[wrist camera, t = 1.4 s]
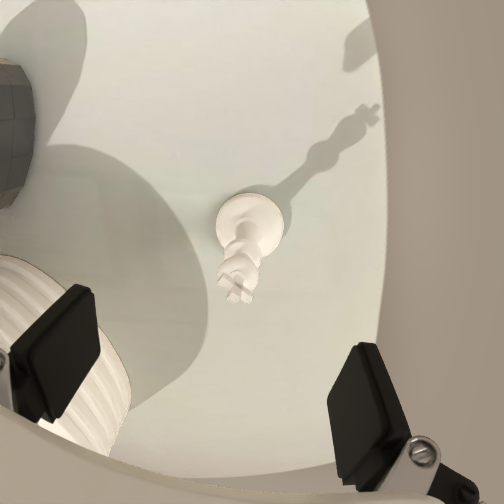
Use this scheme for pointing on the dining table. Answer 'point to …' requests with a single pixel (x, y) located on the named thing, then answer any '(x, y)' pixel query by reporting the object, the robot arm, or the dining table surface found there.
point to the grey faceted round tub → (14, 130)
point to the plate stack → (97, 380)
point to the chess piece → (246, 241)
